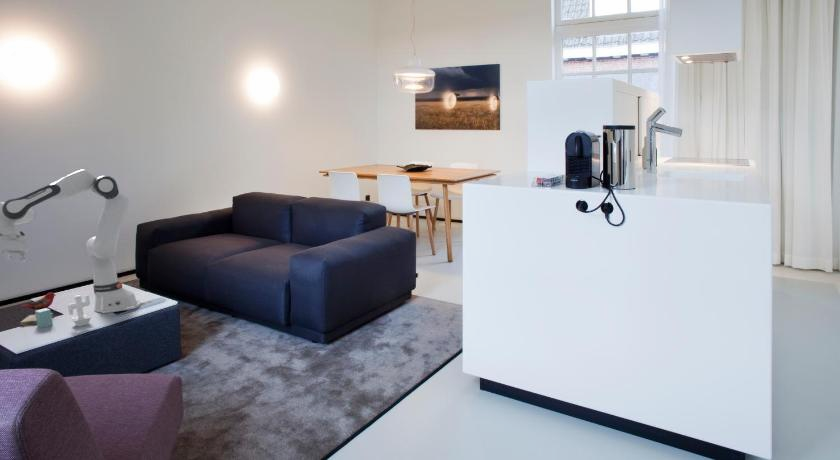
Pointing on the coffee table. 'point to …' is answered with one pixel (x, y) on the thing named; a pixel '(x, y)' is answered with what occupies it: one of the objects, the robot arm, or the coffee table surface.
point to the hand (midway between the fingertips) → (16, 260)
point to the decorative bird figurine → (41, 302)
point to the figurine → (80, 310)
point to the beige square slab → (31, 320)
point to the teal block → (43, 317)
